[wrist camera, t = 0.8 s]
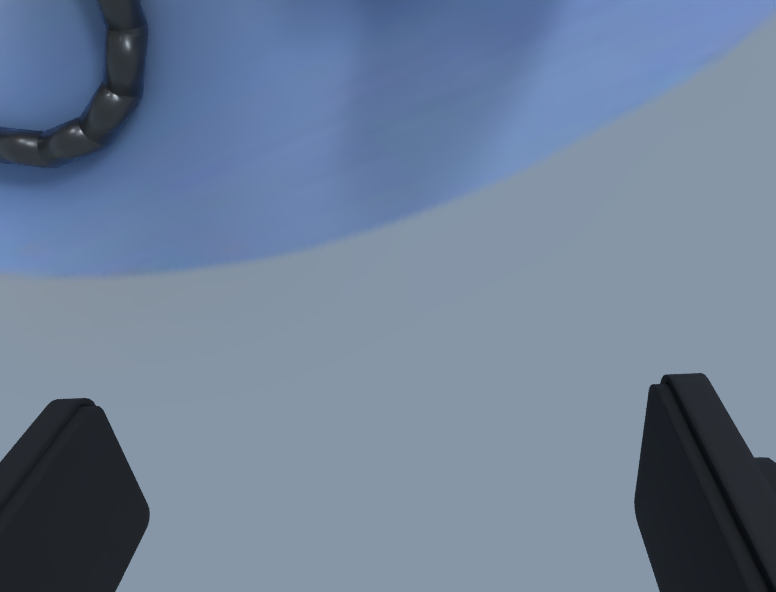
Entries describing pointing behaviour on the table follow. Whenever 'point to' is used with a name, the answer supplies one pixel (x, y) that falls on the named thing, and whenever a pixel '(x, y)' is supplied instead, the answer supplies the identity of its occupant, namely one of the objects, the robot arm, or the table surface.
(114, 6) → the beaded ring
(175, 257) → the table surface
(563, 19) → the table surface
